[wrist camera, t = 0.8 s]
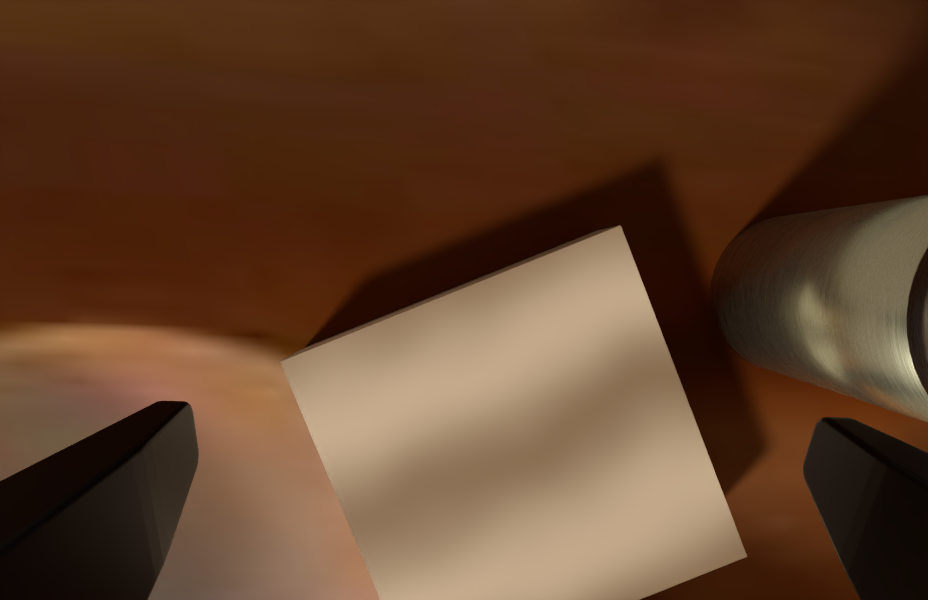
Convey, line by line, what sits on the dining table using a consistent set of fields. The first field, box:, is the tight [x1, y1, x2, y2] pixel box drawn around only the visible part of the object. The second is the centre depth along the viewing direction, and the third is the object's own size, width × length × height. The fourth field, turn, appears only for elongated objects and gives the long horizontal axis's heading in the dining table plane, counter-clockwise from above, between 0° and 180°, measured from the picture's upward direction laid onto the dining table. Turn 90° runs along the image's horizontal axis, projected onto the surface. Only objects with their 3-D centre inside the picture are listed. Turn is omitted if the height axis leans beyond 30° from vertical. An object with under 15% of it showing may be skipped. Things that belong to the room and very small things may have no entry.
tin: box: [710, 195, 928, 422], centre depth 19 cm, size 6×6×12 cm
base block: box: [280, 225, 747, 600], centre depth 23 cm, size 12×12×4 cm
